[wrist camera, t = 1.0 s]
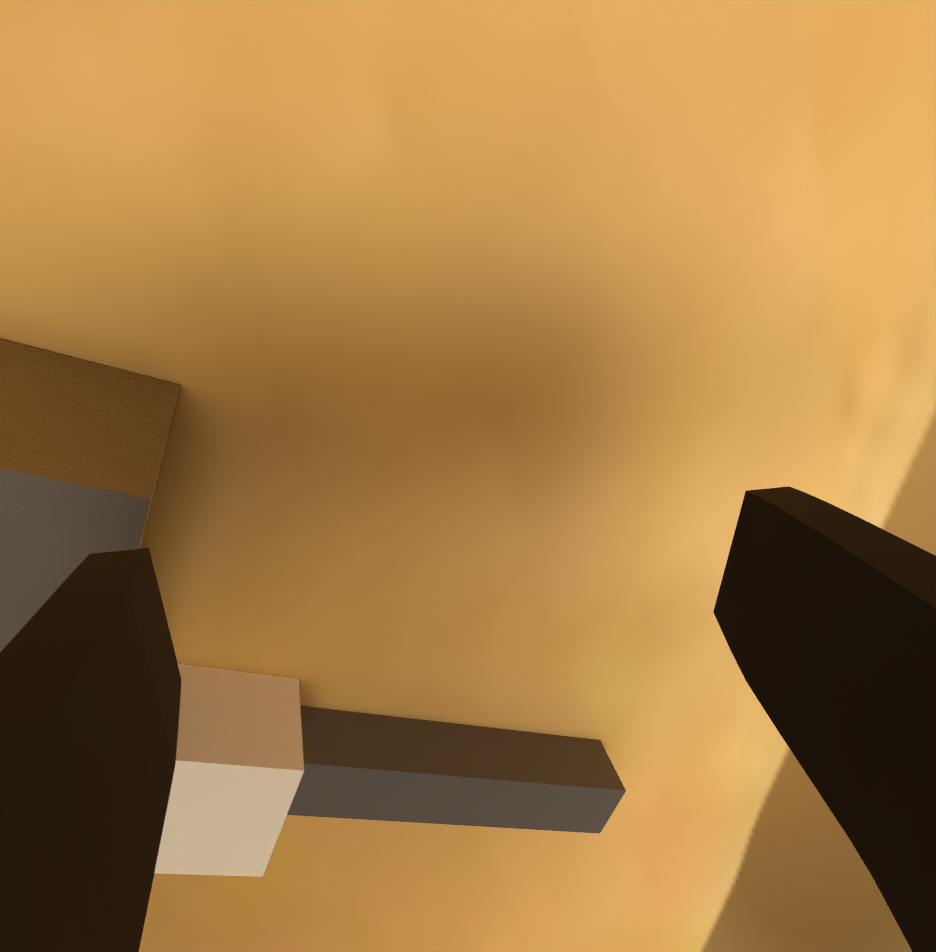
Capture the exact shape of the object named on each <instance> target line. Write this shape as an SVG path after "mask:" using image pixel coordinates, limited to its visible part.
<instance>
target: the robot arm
mask: <svg viewBox="0 0 936 952" xmlns="http://www.w3.org/2000/svg"><path fill="white" fill-rule="evenodd" d="M714 614H715V616H716V619H717V621H718V623H719V625H720V627H721V630H722V632H723V634H724V636H725V639H726V641H727V643H728V645H729V647H730V650H731V652H732V654H733V656H734V658H735V660H736V662H737V664H738V666H739V668H740V670H741V672H742V674H743V675H744V677H745V679H746V681H747V683H748V684H749V686H750V688H751V689H752V691H753V692H754V694H755V696H756V697H757V699H758V700H759V702H760V703H761V705H762V707H763V708H764V710H765V711H766V713H767V714H768V716H769V717H770V719H771V720H772V722H773V724H774V725H775V727H776V728H777V730H778V731H779V733H780V734H781V736H782V737H783V739H784V740H785V742H786V743H787V745H788V746H789V748H790V749H791V751H792V752H793V754H794V755H795V757H796V759H797V760H798V761H799V763H800V765H801V766H802V768H803V769H804V771H805V772H806V774H807V775H808V777H809V778H810V780H811V781H812V783H813V784H814V786H815V787H816V789H817V790H818V792H819V793H820V795H821V796H822V798H823V799H824V801H825V802H826V804H827V805H828V807H829V808H830V810H831V811H832V813H833V814H834V816H835V817H836V819H837V821H838V822H839V824H840V825H841V827H842V828H843V829H844V831H845V833H846V834H847V836H848V837H849V839H850V840H851V842H852V844H853V845H854V847H855V848H856V850H857V852H858V854H859V855H860V857H861V859H862V860H863V861H864V863H865V865H866V867H867V868H868V870H869V872H870V873H871V875H872V877H873V878H874V880H875V882H876V884H877V886H878V888H879V890H880V891H881V893H882V895H883V897H884V899H885V901H886V903H887V905H888V906H889V908H890V910H891V912H892V914H893V916H894V918H895V920H896V922H897V923H898V925H899V927H900V929H901V931H902V933H903V935H904V937H905V938H906V940H907V942H908V944H909V946H910V948H911V950H912V952H936V556H935V555H933V554H931V553H929V552H927V551H924V550H923V549H921V548H919V547H917V546H915V545H913V544H911V543H909V542H907V541H905V540H903V539H901V538H898V537H897V536H895V535H893V534H891V533H888V532H887V531H885V530H883V529H881V528H879V527H877V526H875V525H873V524H871V523H869V522H867V521H865V520H863V519H861V518H859V517H857V516H854V515H852V514H850V513H848V512H846V511H844V510H842V509H840V508H838V507H836V506H834V505H831V504H829V503H827V502H825V501H823V500H821V499H818V498H816V497H814V496H811V495H809V494H807V493H804V492H802V491H799V490H797V489H794V488H791V487H780V488H770V489H760V490H749V491H746V492H745V496H744V500H743V504H742V507H741V511H740V515H739V519H738V522H737V526H736V530H735V534H734V537H733V541H732V545H731V548H730V552H729V556H728V560H727V563H726V567H725V571H724V575H723V578H722V582H721V586H720V590H719V593H718V597H717V601H716V605H715V608H714ZM180 696H181V676H180V672H179V668H178V664H177V660H176V656H175V652H174V648H173V644H172V640H171V636H170V632H169V628H168V623H167V619H166V615H165V611H164V607H163V603H162V599H161V595H160V591H159V587H158V583H157V579H156V575H155V571H154V567H153V563H152V559H151V555H150V551H149V548H144V549H134V550H123V551H113V552H102V553H92V554H89V555H88V556H87V557H86V558H85V559H84V560H83V561H82V562H81V564H80V565H79V566H78V567H77V568H76V569H75V570H74V571H73V572H72V573H71V574H70V575H69V576H68V577H67V579H66V580H65V581H64V582H63V583H62V584H61V585H60V586H59V587H58V588H57V590H56V591H55V592H54V593H53V594H52V595H51V596H50V597H49V599H48V600H47V601H46V602H45V603H44V604H43V605H42V606H41V607H40V609H39V610H38V611H37V612H36V613H35V614H34V615H33V616H32V618H31V619H30V620H29V621H28V622H27V623H26V624H25V625H24V626H23V628H22V629H21V630H20V631H19V632H18V633H17V634H16V635H15V636H14V638H13V639H12V640H11V641H10V642H9V643H8V644H7V645H6V646H5V648H4V649H3V650H2V651H1V652H0V952H139V947H140V942H141V937H142V932H143V927H144V922H145V917H146V912H147V907H148V902H149V897H150V892H151V887H152V882H153V877H154V872H155V867H156V862H157V857H158V852H159V847H160V842H161V837H162V832H163V826H164V821H165V816H166V811H167V806H168V801H169V796H170V790H171V785H172V780H173V774H174V769H175V763H176V751H177V739H178V727H179V711H180Z"/></svg>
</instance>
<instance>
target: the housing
mask: <svg viewBox="0 0 936 952" xmlns="http://www.w3.org/2000/svg"><path fill="white" fill-rule="evenodd" d="M180 387H181V385H178V384H174V383H170V382H167V381H163V380H159V379H155V378H151V377H147V376H143V375H139V374H136V373H132V372H128V371H124V370H120V369H116V368H112V367H108V366H105V365H101V364H97V363H93V362H89V361H85V360H81V359H77V358H74V357H70V356H66V355H62V354H58V353H54V352H50V351H47V350H43V349H39V348H35V347H31V346H27V345H23V344H19V343H16V342H12V341H8V340H4V339H0V652H1V651H2V650H3V649H4V648H5V646H6V645H7V644H8V643H9V642H10V641H11V640H12V639H13V638H14V636H15V635H16V634H17V633H18V632H19V631H20V630H21V629H22V628H23V626H24V625H25V624H26V623H27V622H28V621H29V620H30V619H31V618H32V616H33V615H34V614H35V613H36V612H37V611H38V610H39V609H40V607H41V606H42V605H43V604H44V603H45V602H46V601H47V600H48V599H49V597H50V596H51V595H52V594H53V593H54V592H55V591H56V590H57V588H58V587H59V586H60V585H61V584H62V583H63V582H64V581H65V580H66V579H67V577H68V576H69V575H70V574H71V573H72V572H73V571H74V570H75V569H76V568H77V567H78V566H79V565H80V564H81V562H82V561H83V560H84V559H85V558H86V557H87V556H88V555H89V554H92V553H102V552H113V551H123V550H134V549H141V545H142V541H143V537H144V533H145V529H146V525H147V521H148V517H149V512H150V508H151V504H152V500H153V496H154V492H155V488H156V484H157V480H158V476H159V472H160V468H161V464H162V460H163V456H164V452H165V448H166V444H167V440H168V436H169V432H170V427H171V423H172V419H173V415H174V411H175V407H176V403H177V399H178V395H179V391H180Z"/></svg>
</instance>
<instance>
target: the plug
mask: <svg viewBox="0 0 936 952" xmlns="http://www.w3.org/2000/svg"><path fill="white" fill-rule="evenodd" d="M178 668H179V672H180V676H181V696H180V711H179V727H178V739H177V751H176V763H175V769H174V774H173V780H172V785H171V790H170V796H169V801H168V806H167V811H166V816H165V821H164V826H163V832H162V837H161V842H160V847H159V852H158V857H157V862H156V867H155V872H154V873H155V874H190V875H225V876H259V877H263V875H264V872H265V869H266V867H267V864H268V862H269V859H270V857H271V854H272V852H273V849H274V846H275V844H276V841H277V839H278V836H279V834H280V831H281V829H282V826H283V824H284V821H285V818H286V816H287V815H301V816H318V817H335V818H351V819H368V820H385V821H402V822H419V823H435V824H452V825H469V826H486V827H502V828H519V829H536V830H553V831H569V832H586V833H600V832H601V831H602V829H603V827H604V826H605V824H606V822H607V821H608V819H609V818H610V816H611V814H612V813H613V811H614V809H615V808H616V806H617V805H618V803H619V801H620V800H621V798H622V796H623V795H624V793H625V792H626V790H625V788H624V786H623V784H622V782H621V780H620V778H619V776H618V774H617V772H616V771H615V769H614V767H613V765H612V763H611V761H610V759H609V757H608V755H607V753H606V751H605V749H604V747H603V745H602V743H601V741H600V740H594V739H585V738H576V737H567V736H559V735H550V734H541V733H532V732H524V731H515V730H506V729H497V728H488V727H480V726H471V725H462V724H453V723H445V722H436V721H427V720H418V719H409V718H401V717H392V716H383V715H374V714H366V713H357V712H348V711H339V710H331V709H322V708H313V707H304V706H300V694H299V679H295V678H287V677H279V676H271V675H263V674H256V673H248V672H240V671H232V670H224V669H216V668H208V667H201V666H193V665H185V664H178Z"/></svg>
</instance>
